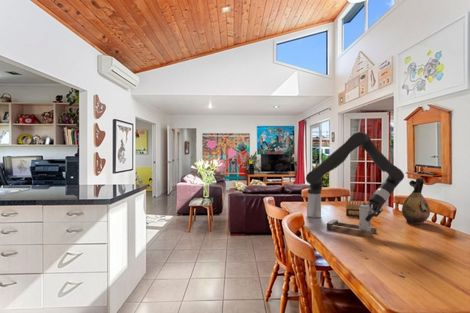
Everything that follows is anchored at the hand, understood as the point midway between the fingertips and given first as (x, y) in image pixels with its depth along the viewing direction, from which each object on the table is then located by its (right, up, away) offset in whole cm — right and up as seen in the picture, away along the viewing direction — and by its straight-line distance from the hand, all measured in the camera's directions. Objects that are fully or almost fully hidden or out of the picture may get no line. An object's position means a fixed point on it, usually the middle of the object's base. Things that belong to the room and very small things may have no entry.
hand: (362, 219), depth 152 cm
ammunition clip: (+15, -8, +44) cm, 47 cm away
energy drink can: (+2, -7, +1) cm, 8 cm away
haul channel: (-4, -8, +5) cm, 11 cm away
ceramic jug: (+47, -8, +24) cm, 53 cm away
